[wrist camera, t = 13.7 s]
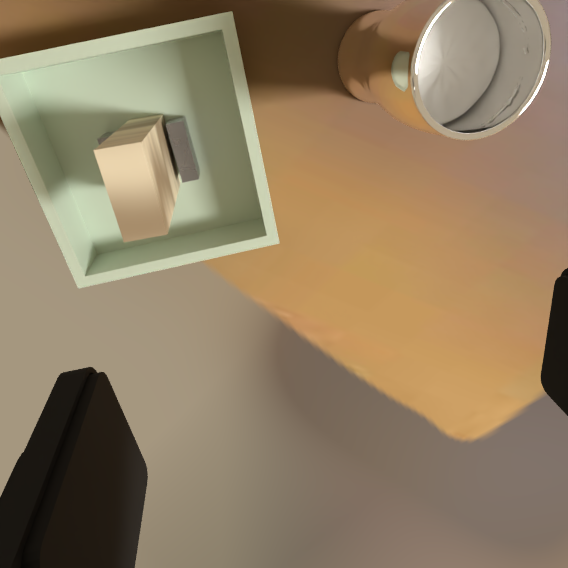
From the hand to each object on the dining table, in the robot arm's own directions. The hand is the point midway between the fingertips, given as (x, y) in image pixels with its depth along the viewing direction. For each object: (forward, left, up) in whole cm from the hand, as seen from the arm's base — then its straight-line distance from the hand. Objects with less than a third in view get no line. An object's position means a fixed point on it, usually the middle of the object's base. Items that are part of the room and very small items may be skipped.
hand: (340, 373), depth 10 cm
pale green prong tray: (0, -7, -29) cm, 30 cm away
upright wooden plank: (0, -7, -28) cm, 29 cm away
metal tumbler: (-3, +10, -29) cm, 31 cm away
